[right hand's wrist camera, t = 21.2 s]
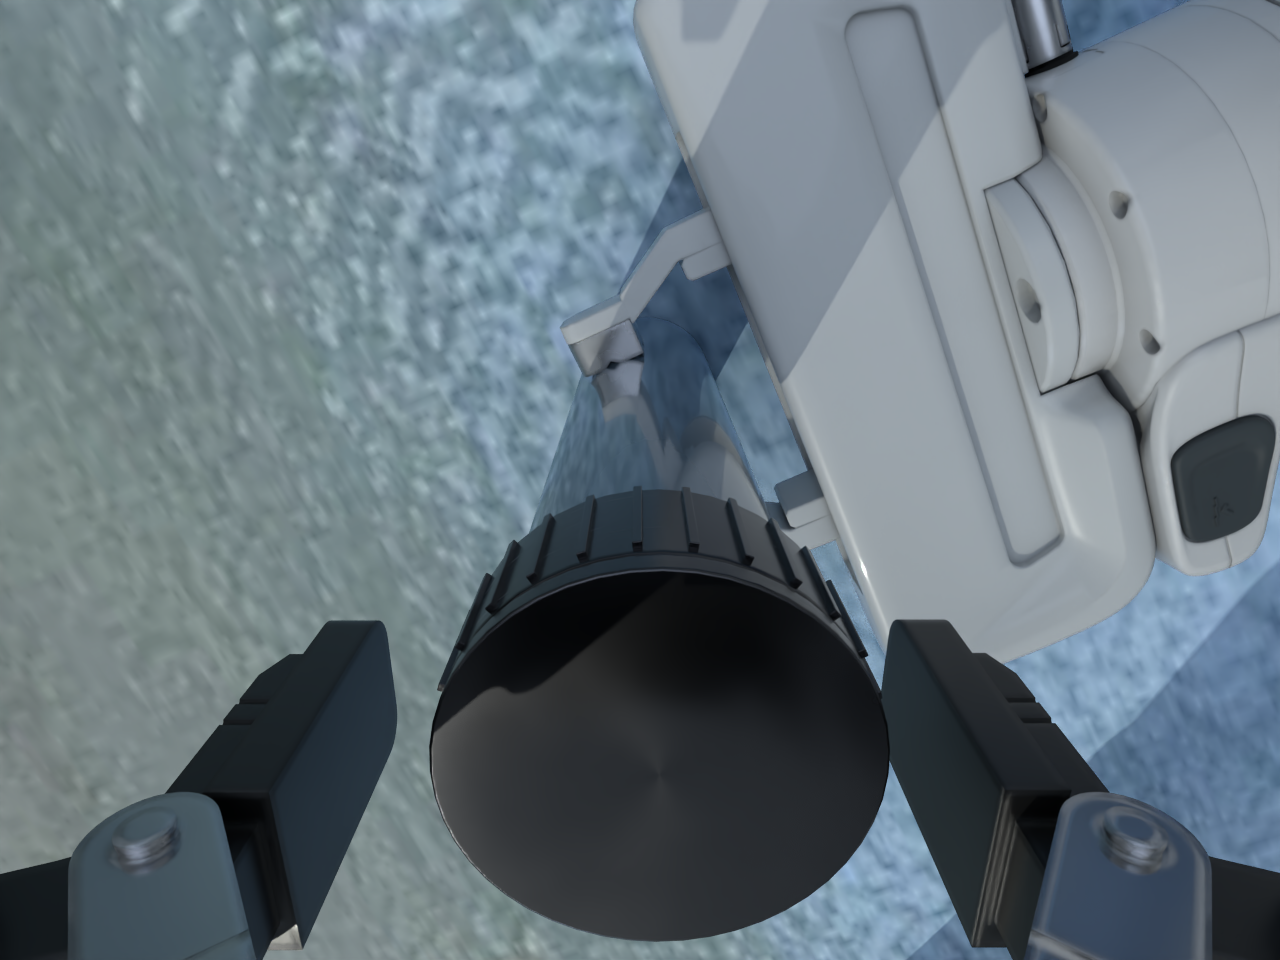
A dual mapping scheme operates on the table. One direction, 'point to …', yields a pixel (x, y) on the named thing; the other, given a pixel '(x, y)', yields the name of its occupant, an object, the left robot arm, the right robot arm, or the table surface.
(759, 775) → the lid
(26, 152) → the table surface
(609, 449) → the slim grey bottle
